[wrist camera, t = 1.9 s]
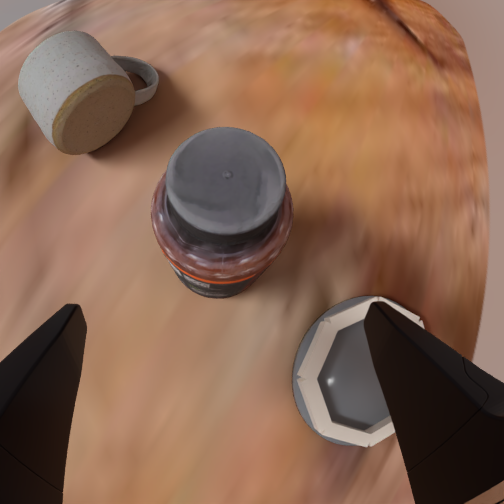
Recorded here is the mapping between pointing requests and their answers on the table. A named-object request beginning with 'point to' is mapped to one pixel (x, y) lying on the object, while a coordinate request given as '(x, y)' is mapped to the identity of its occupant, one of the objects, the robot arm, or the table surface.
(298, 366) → the ring seat
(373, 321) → the robot arm
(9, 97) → the table surface
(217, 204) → the supplement bottle
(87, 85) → the ceramic mug
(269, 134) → the table surface
